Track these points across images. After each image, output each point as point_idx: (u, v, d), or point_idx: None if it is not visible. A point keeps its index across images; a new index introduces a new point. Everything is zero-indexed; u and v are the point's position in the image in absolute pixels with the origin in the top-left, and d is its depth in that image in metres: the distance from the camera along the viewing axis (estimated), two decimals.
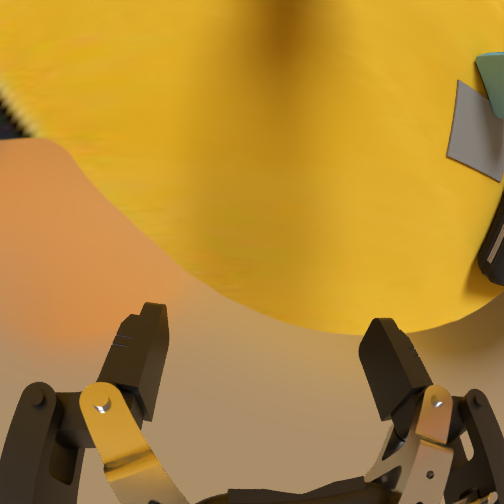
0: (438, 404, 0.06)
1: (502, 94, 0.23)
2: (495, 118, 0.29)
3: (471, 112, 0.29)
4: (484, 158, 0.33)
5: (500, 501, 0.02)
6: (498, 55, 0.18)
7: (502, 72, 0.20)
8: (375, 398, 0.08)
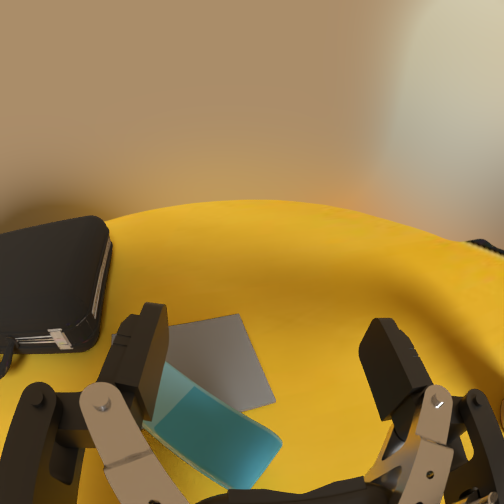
0: (438, 404, 0.06)
1: None
2: None
3: (228, 377, 0.29)
4: None
5: (500, 501, 0.02)
6: None
7: None
8: (375, 398, 0.08)
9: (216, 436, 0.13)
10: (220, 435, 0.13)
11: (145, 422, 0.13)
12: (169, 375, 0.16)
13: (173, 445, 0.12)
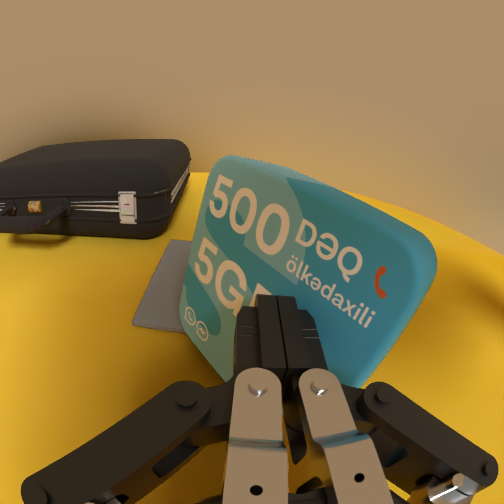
0: (316, 390, 0.06)
1: None
2: None
3: None
4: None
5: (469, 476, 0.03)
6: None
7: None
8: None
9: (372, 211, 0.10)
10: (376, 212, 0.10)
11: (272, 173, 0.11)
12: (303, 175, 0.15)
13: (314, 192, 0.10)
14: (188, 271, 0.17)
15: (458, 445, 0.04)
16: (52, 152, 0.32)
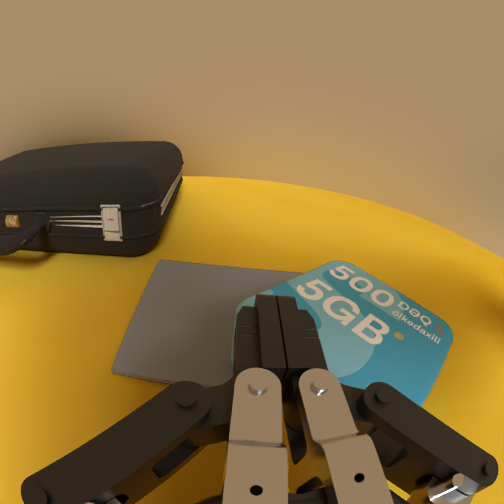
0: (316, 390, 0.06)
1: None
2: (210, 355, 0.18)
3: None
4: (233, 282, 0.25)
5: (469, 476, 0.03)
6: None
7: None
8: None
9: None
10: None
11: (382, 282, 0.20)
12: None
13: (406, 297, 0.18)
14: (284, 286, 0.18)
15: (458, 445, 0.04)
16: (33, 158, 0.28)
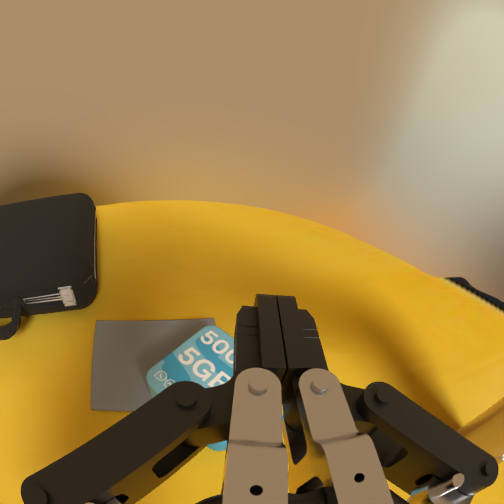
0: (316, 390, 0.06)
1: None
2: (139, 391, 0.28)
3: None
4: (146, 335, 0.35)
5: (469, 476, 0.03)
6: None
7: None
8: None
9: None
10: None
11: None
12: None
13: None
14: (171, 356, 0.29)
15: (458, 445, 0.04)
16: None
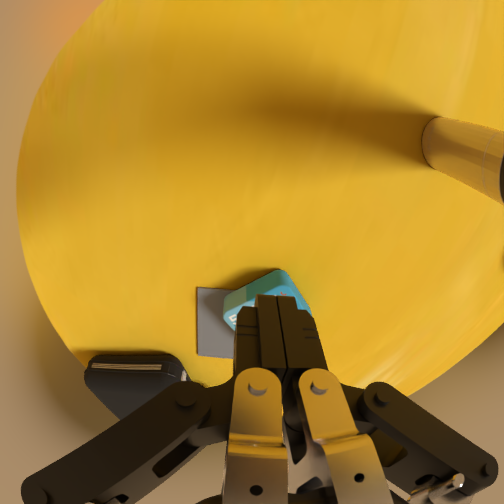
0: (316, 390, 0.06)
1: None
2: None
3: None
4: (211, 332, 0.51)
5: (469, 476, 0.03)
6: (296, 288, 0.46)
7: None
8: None
9: (264, 283, 0.43)
10: (264, 282, 0.43)
11: (243, 303, 0.42)
12: (236, 291, 0.45)
13: None
14: None
15: (458, 445, 0.04)
16: None
